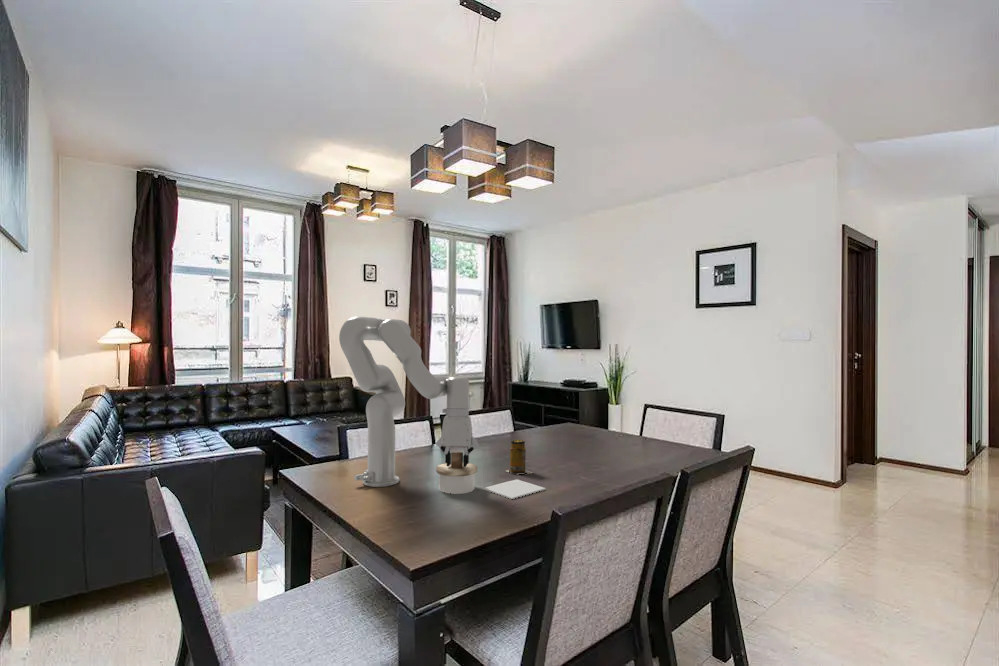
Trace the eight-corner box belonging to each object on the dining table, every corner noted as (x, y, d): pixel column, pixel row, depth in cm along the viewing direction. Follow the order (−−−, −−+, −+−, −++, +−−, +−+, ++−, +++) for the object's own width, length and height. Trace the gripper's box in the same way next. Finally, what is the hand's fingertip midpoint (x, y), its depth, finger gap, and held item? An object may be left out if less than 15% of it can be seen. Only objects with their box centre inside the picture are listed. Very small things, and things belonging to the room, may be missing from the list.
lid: (453, 478, 162) (453, 459, 162) (428, 470, 172) (428, 452, 172) (485, 471, 171) (485, 453, 172) (460, 463, 182) (460, 446, 182)
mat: (511, 499, 160) (511, 497, 160) (483, 489, 171) (483, 487, 171) (545, 489, 171) (545, 488, 171) (516, 480, 182) (516, 479, 182)
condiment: (518, 468, 199) (518, 438, 199) (533, 473, 193) (533, 441, 193) (504, 471, 195) (504, 440, 195) (518, 476, 188) (519, 444, 188)
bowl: (453, 496, 163) (453, 477, 163) (432, 487, 172) (432, 470, 172) (481, 488, 171) (481, 471, 172) (459, 481, 180) (459, 464, 180)
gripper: (430, 413, 169) (429, 467, 169) (480, 415, 167) (479, 469, 167) (436, 410, 177) (435, 461, 177) (483, 411, 175) (483, 464, 175)
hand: (457, 465), depth 172 cm, fingers open, 5 cm apart
